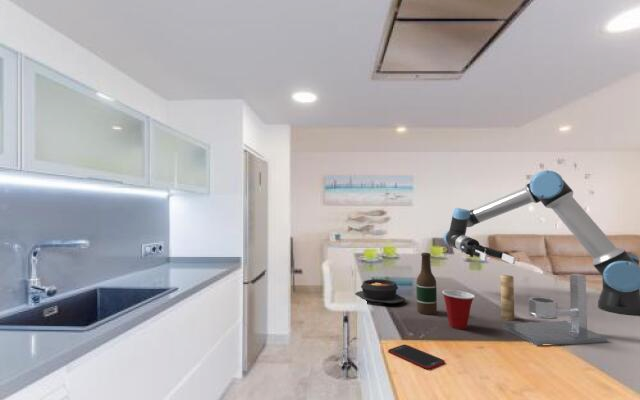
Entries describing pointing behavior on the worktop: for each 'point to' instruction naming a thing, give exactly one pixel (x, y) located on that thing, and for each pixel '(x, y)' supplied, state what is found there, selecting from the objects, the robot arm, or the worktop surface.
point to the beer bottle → (426, 288)
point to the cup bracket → (558, 329)
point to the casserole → (380, 291)
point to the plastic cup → (458, 307)
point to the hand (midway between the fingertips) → (500, 259)
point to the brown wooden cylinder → (507, 297)
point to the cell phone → (416, 357)
